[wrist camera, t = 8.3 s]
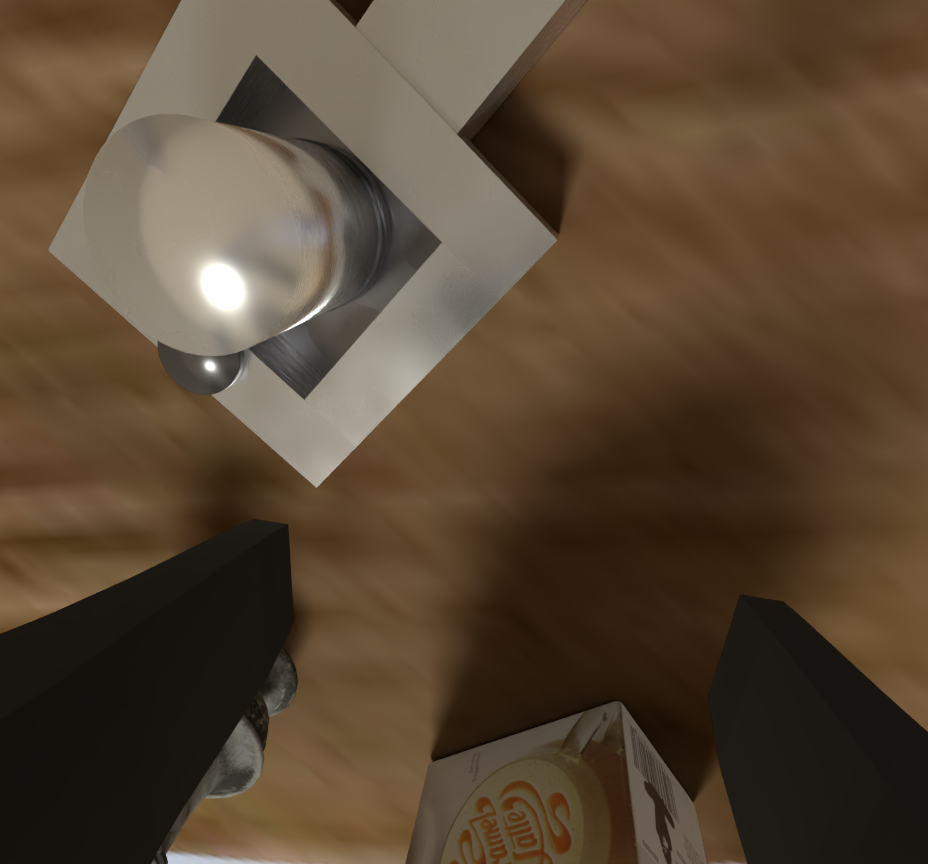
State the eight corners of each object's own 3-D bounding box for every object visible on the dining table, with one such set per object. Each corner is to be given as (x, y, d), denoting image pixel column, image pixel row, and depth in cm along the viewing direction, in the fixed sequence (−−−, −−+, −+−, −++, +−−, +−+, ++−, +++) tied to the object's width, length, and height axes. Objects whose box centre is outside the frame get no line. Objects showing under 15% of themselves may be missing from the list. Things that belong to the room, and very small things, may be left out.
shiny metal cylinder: (411, 176, 16) (324, 165, 10) (366, 330, 17) (272, 391, 12) (258, 115, 16) (89, 71, 10) (229, 275, 17) (73, 309, 12)
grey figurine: (168, 599, 24) (-182, 948, 13) (305, 629, 23) (61, 1026, 12) (179, 703, 26) (-109, 1076, 15) (303, 734, 25) (97, 1147, 14)
